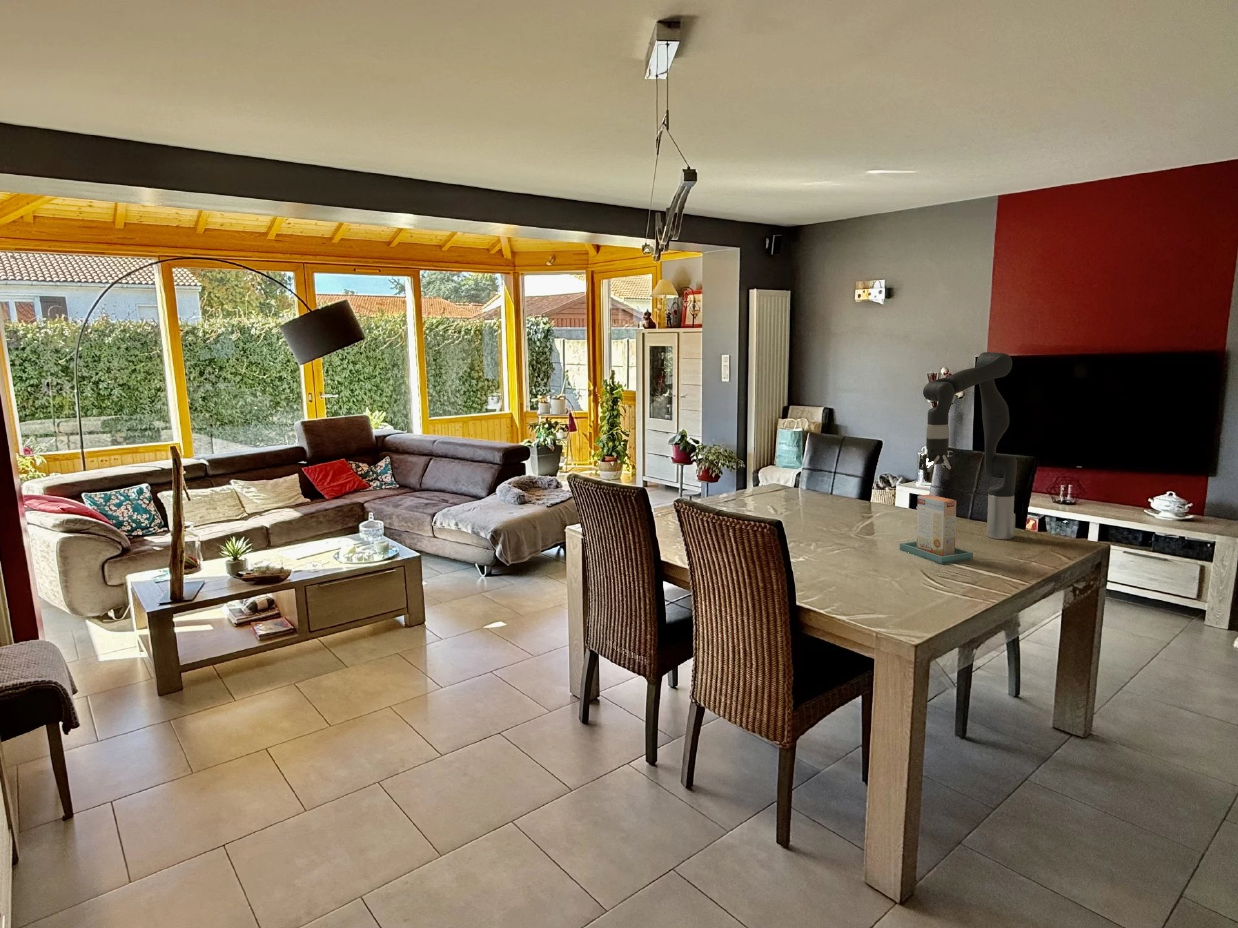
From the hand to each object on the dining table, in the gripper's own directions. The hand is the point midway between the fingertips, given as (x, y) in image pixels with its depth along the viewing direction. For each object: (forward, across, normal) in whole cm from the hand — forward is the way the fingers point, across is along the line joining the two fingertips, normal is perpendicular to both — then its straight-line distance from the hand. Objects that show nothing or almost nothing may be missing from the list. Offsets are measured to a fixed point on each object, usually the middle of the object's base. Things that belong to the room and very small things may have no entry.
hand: (936, 480), depth 270 cm
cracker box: (+28, 0, 0) cm, 28 cm away
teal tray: (+28, 0, 0) cm, 28 cm away
